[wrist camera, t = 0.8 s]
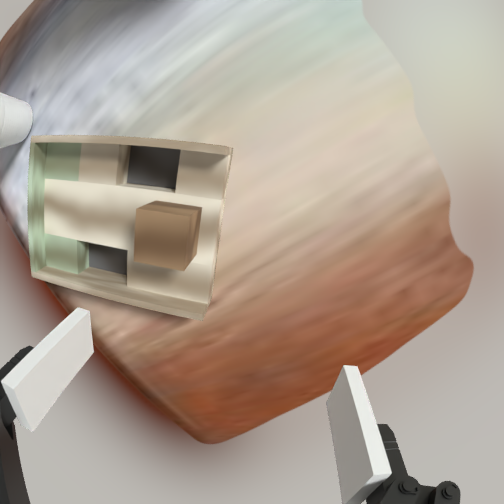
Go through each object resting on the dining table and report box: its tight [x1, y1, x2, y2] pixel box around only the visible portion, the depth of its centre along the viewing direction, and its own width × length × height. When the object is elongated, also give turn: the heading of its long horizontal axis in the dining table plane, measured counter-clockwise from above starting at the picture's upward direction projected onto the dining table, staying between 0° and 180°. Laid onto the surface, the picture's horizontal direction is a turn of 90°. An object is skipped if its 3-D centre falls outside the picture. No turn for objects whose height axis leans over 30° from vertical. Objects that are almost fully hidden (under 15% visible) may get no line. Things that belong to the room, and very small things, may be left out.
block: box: [134, 200, 202, 271], centre depth 28 cm, size 5×5×5 cm
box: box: [28, 135, 233, 321], centre depth 31 cm, size 18×23×6 cm
